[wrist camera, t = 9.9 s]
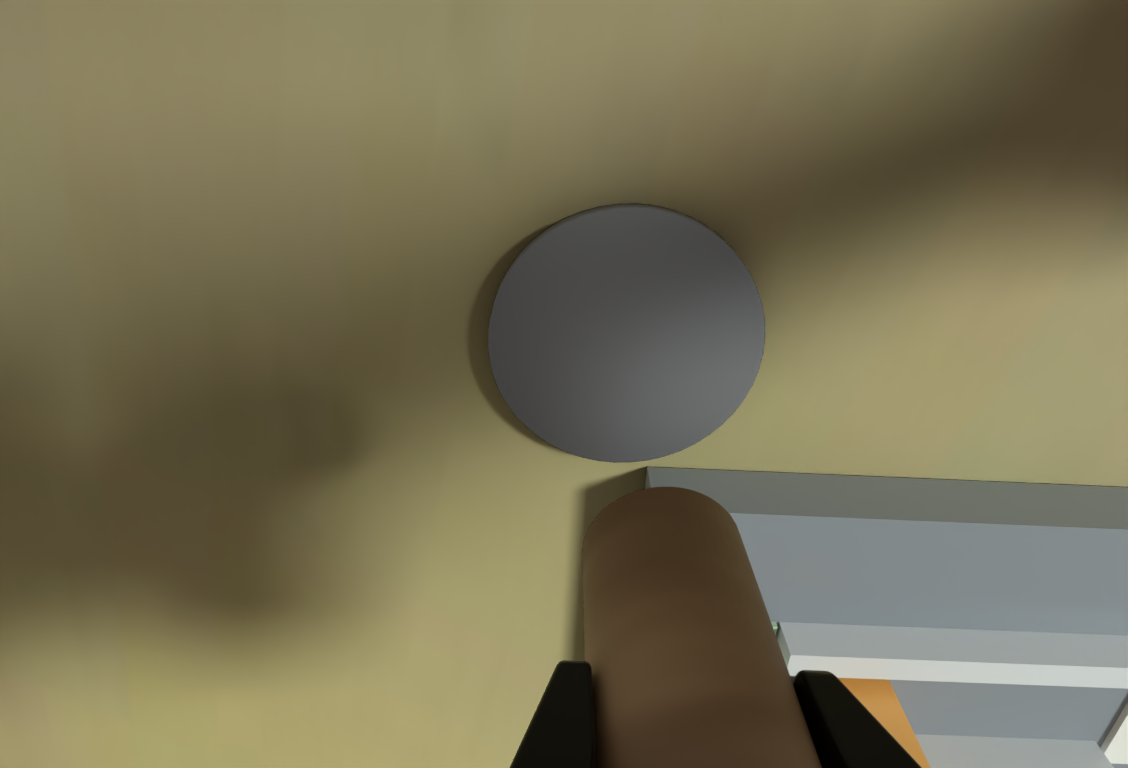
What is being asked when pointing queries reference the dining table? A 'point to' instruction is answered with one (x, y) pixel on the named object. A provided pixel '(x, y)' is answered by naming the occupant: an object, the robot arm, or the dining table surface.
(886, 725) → the orange rectangular block
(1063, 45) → the dining table surface
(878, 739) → the robot arm
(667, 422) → the pad
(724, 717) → the dowel
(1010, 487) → the panel
